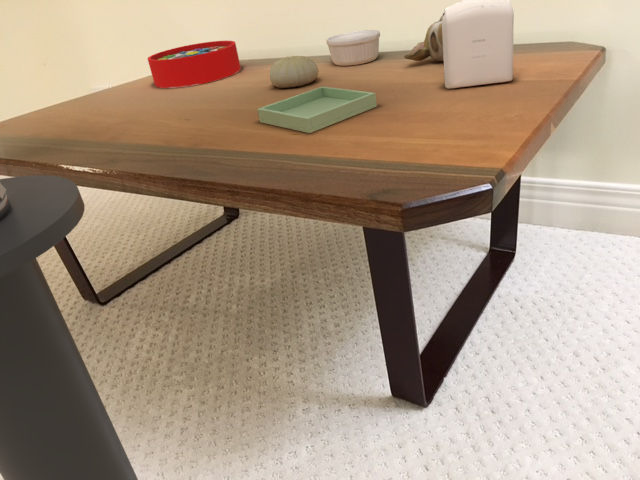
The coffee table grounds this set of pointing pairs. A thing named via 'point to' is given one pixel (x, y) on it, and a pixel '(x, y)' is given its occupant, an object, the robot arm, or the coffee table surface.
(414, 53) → the ceramic sculpture
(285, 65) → the sea urchin shell
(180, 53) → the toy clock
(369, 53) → the ramekin
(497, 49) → the photo printer
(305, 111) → the tray
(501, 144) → the coffee table surface
